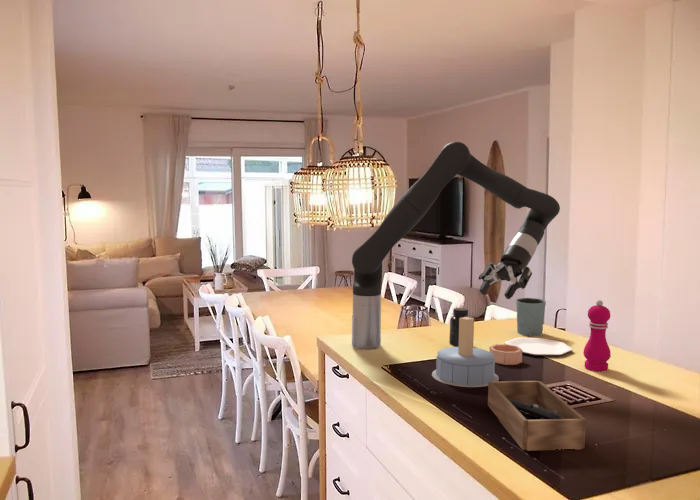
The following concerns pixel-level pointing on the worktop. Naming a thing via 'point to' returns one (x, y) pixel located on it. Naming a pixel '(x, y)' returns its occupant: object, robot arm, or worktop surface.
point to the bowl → (506, 354)
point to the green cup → (530, 316)
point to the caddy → (537, 431)
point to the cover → (465, 359)
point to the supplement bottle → (456, 325)
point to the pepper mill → (597, 339)
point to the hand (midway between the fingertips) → (494, 295)
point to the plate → (540, 346)
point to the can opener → (534, 411)
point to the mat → (460, 384)
